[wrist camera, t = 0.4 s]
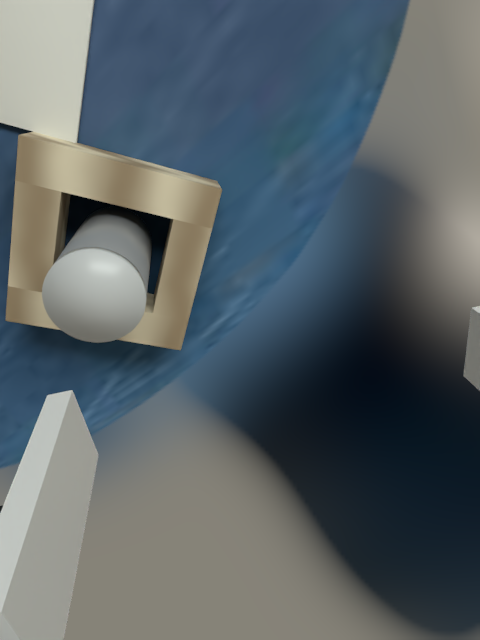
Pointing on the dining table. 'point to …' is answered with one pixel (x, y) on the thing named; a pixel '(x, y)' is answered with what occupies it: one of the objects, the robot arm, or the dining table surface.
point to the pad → (44, 64)
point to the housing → (118, 189)
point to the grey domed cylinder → (101, 277)
